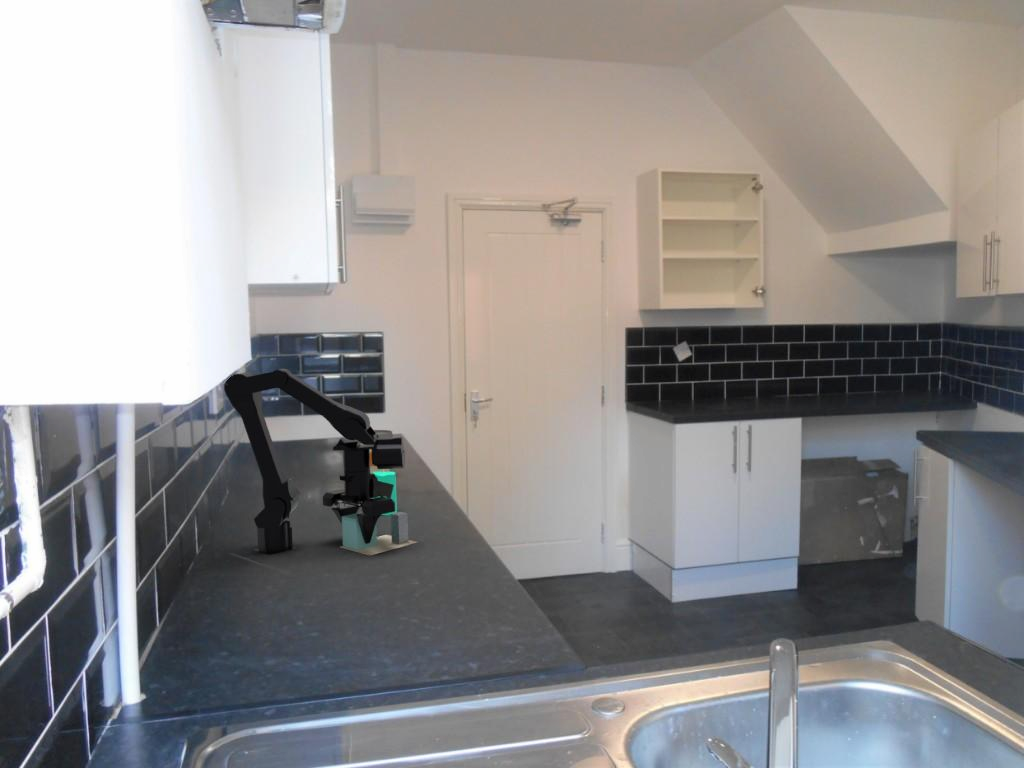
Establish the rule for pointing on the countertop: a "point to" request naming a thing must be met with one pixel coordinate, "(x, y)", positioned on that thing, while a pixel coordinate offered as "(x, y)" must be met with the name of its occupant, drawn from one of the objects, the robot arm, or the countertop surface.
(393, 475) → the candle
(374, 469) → the reusable coffee cup
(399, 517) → the post
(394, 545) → the board
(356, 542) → the teal rectangular block
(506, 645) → the countertop surface
